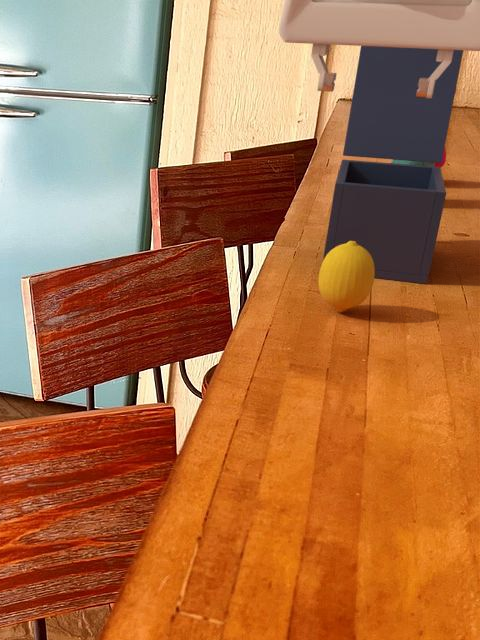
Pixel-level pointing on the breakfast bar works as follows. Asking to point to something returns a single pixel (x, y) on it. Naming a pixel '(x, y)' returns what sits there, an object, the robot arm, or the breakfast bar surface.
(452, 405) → the breakfast bar surface
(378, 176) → the chest
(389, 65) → the chest lid
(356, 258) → the lemon
